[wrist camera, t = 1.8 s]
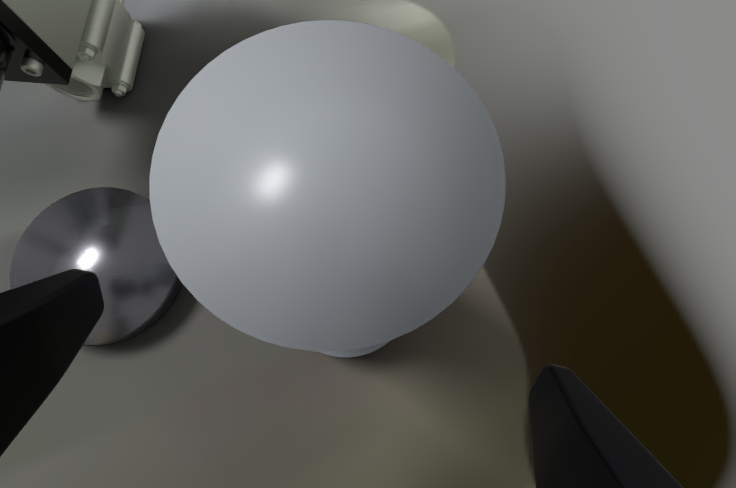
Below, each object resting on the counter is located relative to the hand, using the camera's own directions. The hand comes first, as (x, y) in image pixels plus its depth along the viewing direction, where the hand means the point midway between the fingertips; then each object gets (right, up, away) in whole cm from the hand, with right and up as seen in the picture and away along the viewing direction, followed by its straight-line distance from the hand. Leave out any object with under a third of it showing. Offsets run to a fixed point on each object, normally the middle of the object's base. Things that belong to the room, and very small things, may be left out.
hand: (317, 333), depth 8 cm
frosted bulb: (0, 0, +10) cm, 10 cm away
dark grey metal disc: (-10, +1, +10) cm, 14 cm away
